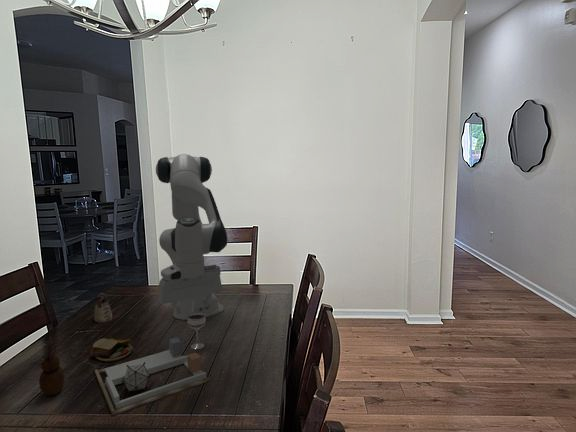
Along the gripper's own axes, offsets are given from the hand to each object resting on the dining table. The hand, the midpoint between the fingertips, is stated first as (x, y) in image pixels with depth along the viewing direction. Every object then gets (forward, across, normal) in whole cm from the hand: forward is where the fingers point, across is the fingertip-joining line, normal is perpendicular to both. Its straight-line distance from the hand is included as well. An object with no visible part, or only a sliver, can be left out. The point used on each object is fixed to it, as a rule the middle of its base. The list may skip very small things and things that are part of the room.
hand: (191, 310), depth 126 cm
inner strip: (+21, +12, -13) cm, 28 cm away
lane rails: (+21, +12, -5) cm, 25 cm away
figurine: (+21, +16, -63) cm, 68 cm away
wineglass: (+21, -8, -16) cm, 28 cm away
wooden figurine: (+22, +39, -14) cm, 47 cm away
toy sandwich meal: (+22, +20, -28) cm, 40 cm away
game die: (+22, +18, 0) cm, 28 cm away
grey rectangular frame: (+21, +12, 0) cm, 25 cm away
